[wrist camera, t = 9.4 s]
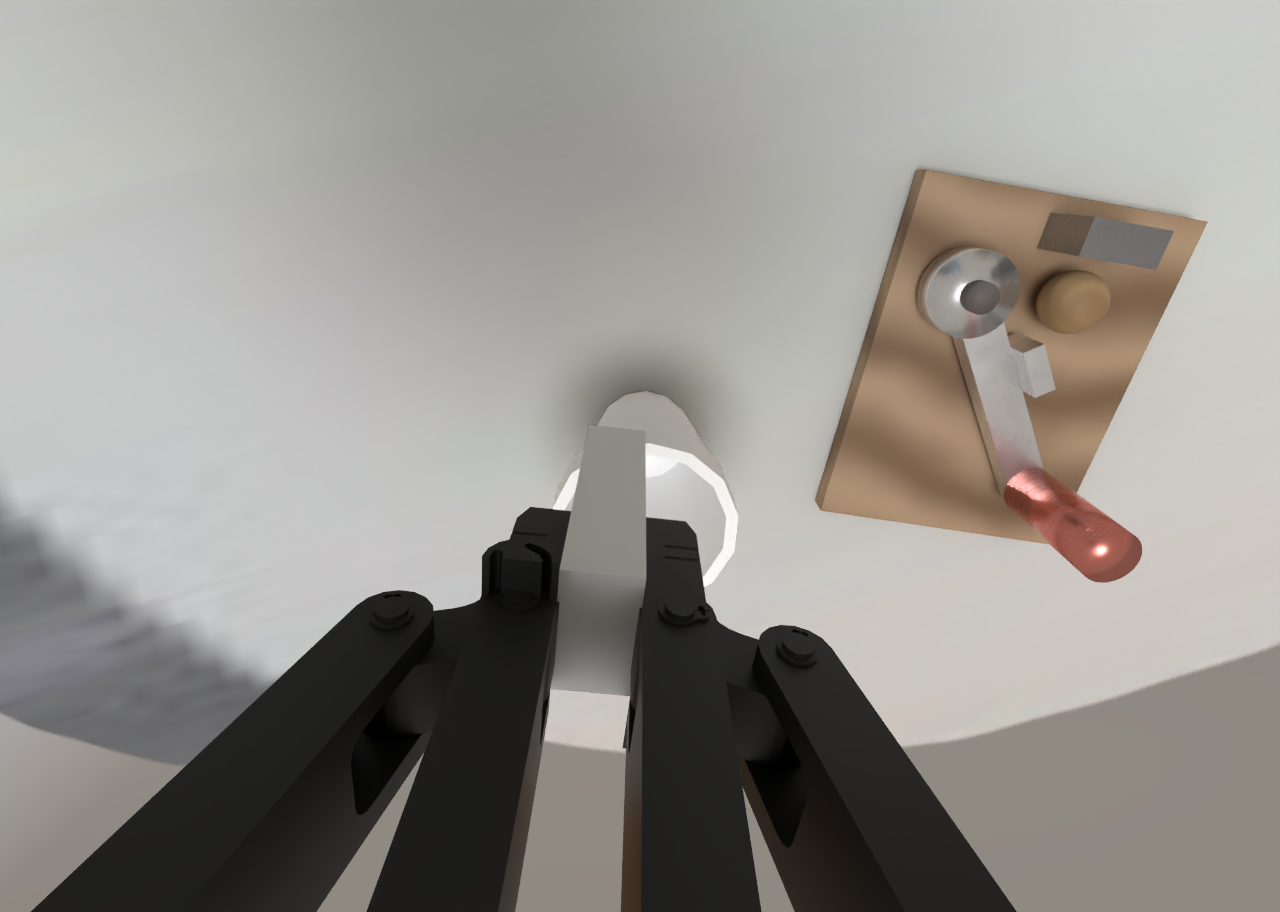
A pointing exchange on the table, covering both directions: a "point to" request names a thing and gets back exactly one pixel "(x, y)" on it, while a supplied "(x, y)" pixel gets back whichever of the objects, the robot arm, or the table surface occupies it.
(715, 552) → the foam cup
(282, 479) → the table surface
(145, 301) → the table surface
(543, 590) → the robot arm
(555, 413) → the table surface
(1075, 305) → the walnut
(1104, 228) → the two-tone textured tile
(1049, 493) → the lever
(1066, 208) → the board
